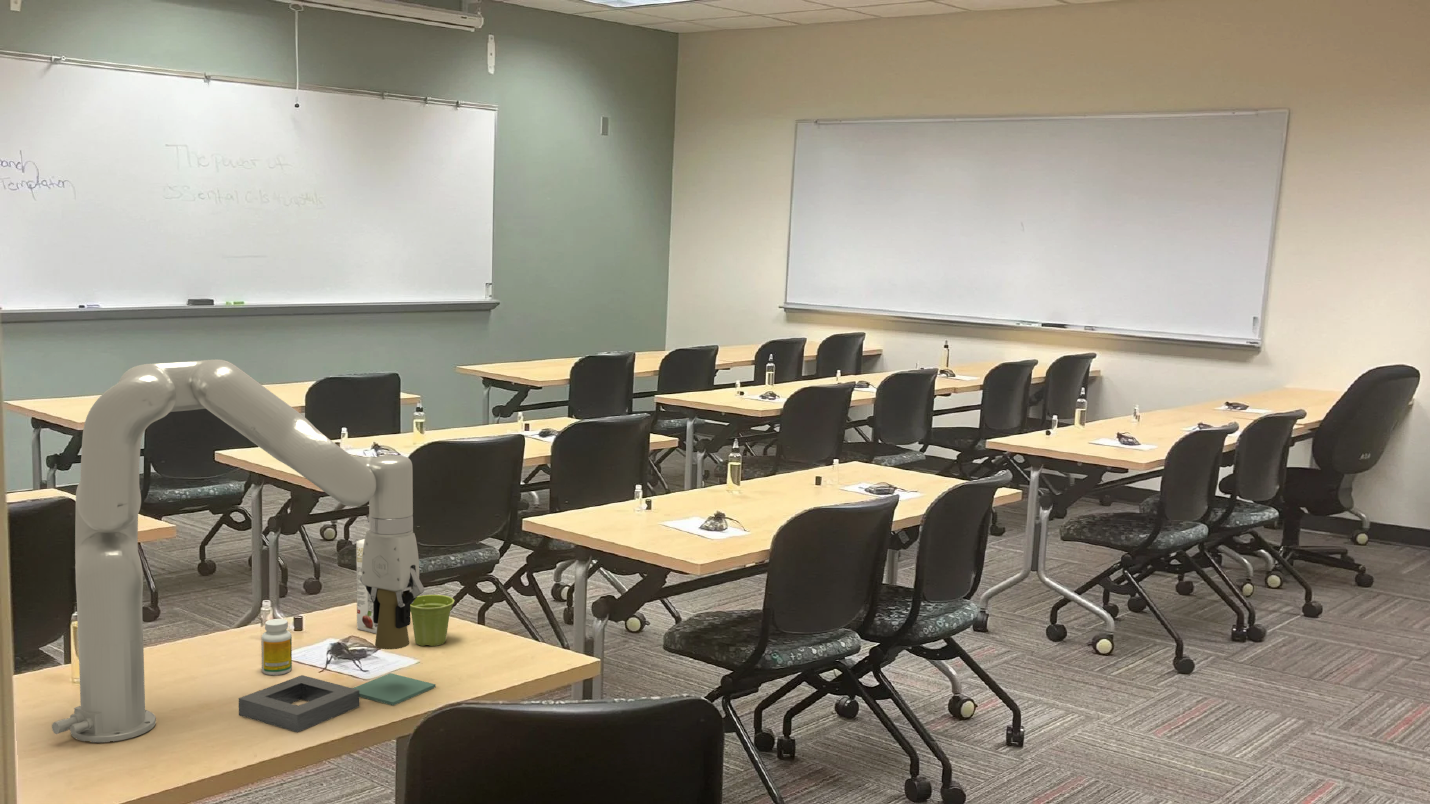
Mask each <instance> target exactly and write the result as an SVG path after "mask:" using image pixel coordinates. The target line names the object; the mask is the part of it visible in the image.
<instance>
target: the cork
mask: <svg viewBox="0 0 1430 804" xmlns="http://www.w3.org/2000/svg"><path fill="white" fill-rule="evenodd" d="M403 595H404V597H405V596H406V595H405V591H404V592H403ZM377 599H378V601H379V603H380V609H379V617H378V625H377V633H375V634H376V635H375V643H374V646H375V648H377V649H381V650H399V649H403V648H406V647H408V646H409V645H410V639H409V638H410V637H409V631H408V626H405V627H402V628H400V629H399V628H396V615H395V608H396V607H397V606H399V605H398V601H397V596H396V592H394V591H389V590H384V589H378V591H377Z"/></svg>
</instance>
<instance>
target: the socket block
mask: <svg viewBox="0 0 1430 804" xmlns="http://www.w3.org/2000/svg"><path fill="white" fill-rule="evenodd" d="M353 688H354V687H350V686H344V685H342V684H338V683H334V682H331V681H326V680H323V679H318V678H314V677H311V676H306V675H303V674H301V675H299V676H296V677H293V678H290V679H287V680H285V681H282V682H280V683H277V684H274V685H273V684H272V685H270V686H268V687H266V688H263V689H261V690H257V691H255V692H251V693H250V694H247V695H244V696H242V697H239V698H238V716H240V717H243V718H245V719H246V718H248V719H249V720H254V721H257V722H260V723H264V724H268V725H271V726H275V727H278V728H281V729H284V730H288V731H291V732H295V733H300V732H302V731H305V730H307V729H310V728H312V727H314V726H316V725H319V724H322V723H323V722H326V721H328V720H331V719H334V718H335V717H337V716H341V715H343V714H346V713H347V712H350V711H353V710H354V709H357V708H360V707H361V706H360V698H361V697H360V694H359V690H357V689H353ZM301 700H303V701H306V702H305V703H302V704H300V705H297V704H295V703H296V702H299V701H301ZM293 703H294V704H293Z"/></svg>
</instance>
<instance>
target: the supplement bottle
mask: <svg viewBox="0 0 1430 804" xmlns="http://www.w3.org/2000/svg"><path fill="white" fill-rule="evenodd" d="M288 627H289V622H288V620H287V619H285V618H274V619H268V620H266V621H265V623H264V629H265V631H264V633H262V635H261V639H260V640H261V671H262V674H265V675H267V676H268V675H270V676H281V675H285V674H288V673H290V672H291V670H292V667H293V660H292V659H293V658H292V657H293V653H292V651H293V649H292V648H293V647H292V643H293V642H292V641H293V640H292V639H293V638H292V637H293V636H292V633H291V632H290V631H289V630H288Z"/></svg>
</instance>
